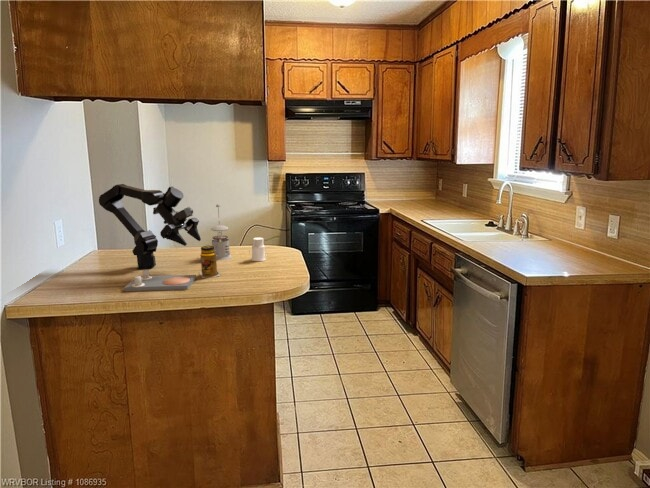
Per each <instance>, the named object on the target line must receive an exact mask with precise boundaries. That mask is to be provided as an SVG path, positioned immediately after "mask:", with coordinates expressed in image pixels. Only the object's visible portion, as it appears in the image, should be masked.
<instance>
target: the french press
mask: <svg viewBox="0 0 650 488" xmlns="http://www.w3.org/2000/svg"><path fill="white" fill-rule="evenodd" d="M215 207H216V208H217V213H218V214H217V215H218V217H220V213H219V212H220V210H219V208H221V205H220V204H219V203H218V204H216V205H215ZM228 230H229V227H228V226H227V225H223V224H220V222H218V224H217V225H214V226H212V227H211V228H210V231H213V232H217V235H215V236H212V238H211V239H212V240H211V246H214V250H215V251H214V252H215V253H216V261H222V260H224V261H225V260H229V259H232V258H233V255H231V251H230V250H231V249H230V248H231V247H230V239H228V238H229V236H228V235H223V233H222V232H224V231H225V232H226V231H228Z"/></svg>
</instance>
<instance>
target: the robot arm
mask: <svg viewBox="0 0 650 488" xmlns="http://www.w3.org/2000/svg"><path fill="white" fill-rule="evenodd" d="M124 196H125V197H129V198H133V199H137V200H140V201H141V202H142V203H143V204H145V205H147V206H150V207H151V206H155V207H153V212H152V214H153V215H159V216H160V217H161V218H162V219H163V224H165V225H164V227H163V228H162V229H161V231H160V234H159V235H160V237H161V238H162V239H166V240H169V241H172V242H174V243H177V244H179V245H182V246H184V247H186V246H187V242H186V241H185V239H184V238H183V236H182V235H181V233H179V231H181V230H184V231H185V232H186V233H187V234H188V235H190V236H191V237H192V238H194V239H195V240H196V241H198V242H200V241H202V239H201V235H200V233H199V230H198V225H199V222H200V220H199V219H198V218H197V217H193V214H194V209H193V208H191V207H190V206H187V207H186V208H184V209H182V210H179V211H176V210H175V209H174V208H176V207H177V206H178V205H179V203H180V202H181V201H182V200H183V198H184V193H183V192H182V191H181V190H180V189H178V188H177V187H176V188H175V187H174V186H169V187H168V188H167V190H166V191H165V193H164V192H163V191H162V190H159V189H158V190H157V189H142V188H138V187H135V186H131V185H127V184H124V183H120V184H115V185H113V186H112V187H111V188H110V189H108V190H106V191H105V192H104V193H101V194H100V195H99V197H98V203H99V206H100V207H102V209H104V210H105V211H106V212H110V213H111V214H113V215H114V216H115V217H116V218H117V219H118V221H119V222H120V223H121V224H122V225H123V226H124V227H125V229H126V230H127V231H128V232H129V233H130V235H132V237H133V242H134V245H135V246H134V248H133V249H132V254H133V256H136V259H137V261H136V262H137V266H136V270H149V269H150V270H151V269H153V268H154V267H155V266H156V265H157V264H156V263H157V261H156V256H155V254H154V252H156V251H157V248H158V245H159V244H158V243H159V242H158V239H157V236H156V235H155V234H154V233H153V231H151V229H150V230H149V229H148V230H144V229H143V228H142V227H141V226H140V224H139V223H138V222H137V221H136V219H134V218H133V216H132V215H131V214H130V213H129V211H127V209H126V208H125V207H124V204H123V203H124V202H123V200H122V199H124ZM156 205H157V206H156ZM189 217H191V218H189ZM187 218H188V219H187Z"/></svg>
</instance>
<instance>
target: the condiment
mask: <svg viewBox="0 0 650 488" xmlns="http://www.w3.org/2000/svg"><path fill="white" fill-rule="evenodd" d="M200 250H201V251H200V252H201V253H200V254H199V255H200V264H201V265H200V266H201V272H199V275H200V277H201V279H207V278H215V277H221V274H220V272H219V271H218V269H217V268H218V267H217V266H218V265H217V260H216V253H215V252H214V251H215V250H214V246H213V245H203V246H201V247H200Z"/></svg>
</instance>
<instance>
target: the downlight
mask: <svg viewBox="0 0 650 488" xmlns="http://www.w3.org/2000/svg"><path fill="white" fill-rule="evenodd" d="M252 242H253V243H252V245H251V250H250V249H249V251H248V252H249V256H250V261H253V262H264V261H266V260H267V257H266V256H265V255H266V254H268V252H267V250H266V245H264V237H254V238H253V239H252ZM265 253H266V254H265Z"/></svg>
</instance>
